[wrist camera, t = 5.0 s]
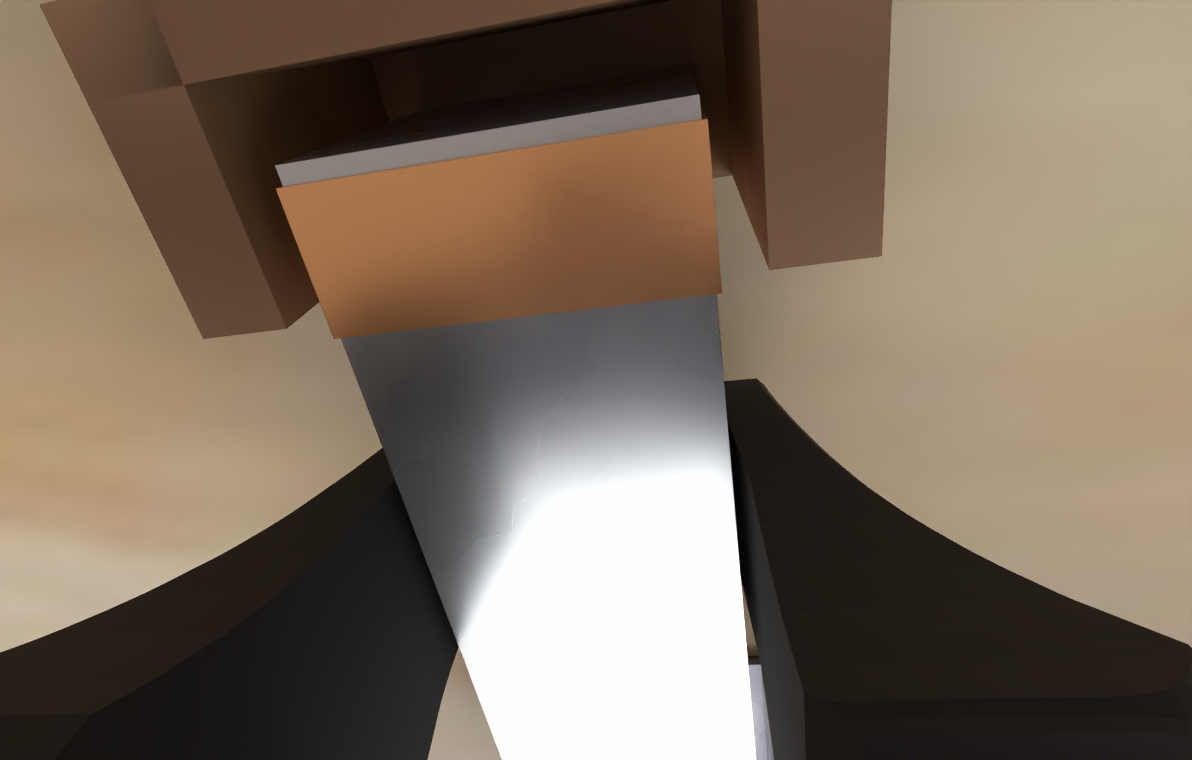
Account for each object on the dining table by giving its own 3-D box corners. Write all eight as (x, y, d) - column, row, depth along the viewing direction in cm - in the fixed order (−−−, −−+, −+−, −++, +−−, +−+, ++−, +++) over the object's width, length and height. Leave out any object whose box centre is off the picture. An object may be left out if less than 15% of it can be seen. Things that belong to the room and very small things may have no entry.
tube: (744, 651, 15) (767, 856, 11) (564, 657, 15) (532, 851, 12) (691, 63, 9) (705, 93, 6) (414, 111, 10) (267, 167, 6)
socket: (798, 162, 10) (881, 255, 6) (366, 225, 11) (202, 338, 7) (793, -97, 8) (899, -191, 5) (293, 9, 10) (38, 5, 6)
